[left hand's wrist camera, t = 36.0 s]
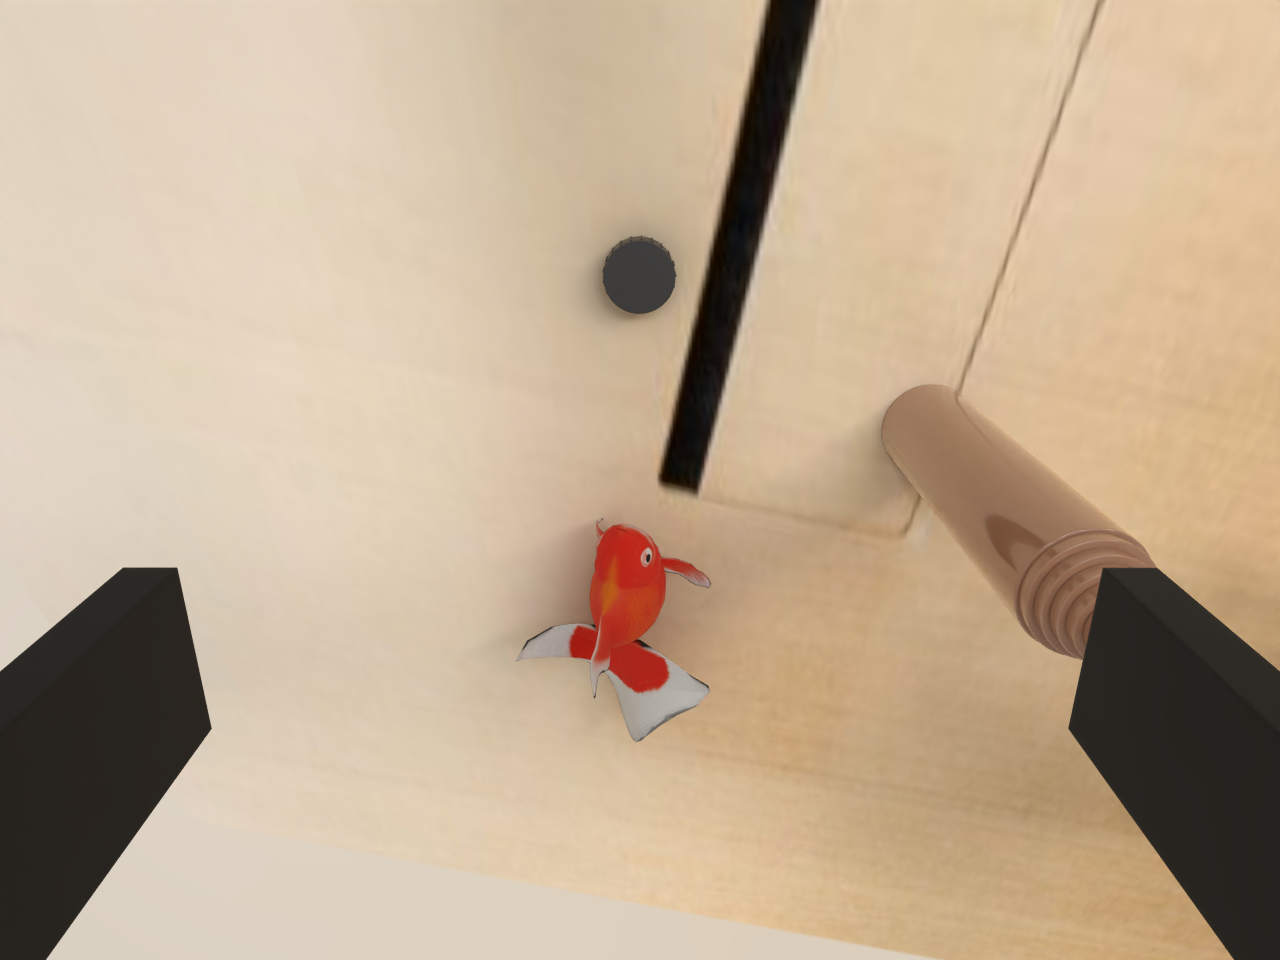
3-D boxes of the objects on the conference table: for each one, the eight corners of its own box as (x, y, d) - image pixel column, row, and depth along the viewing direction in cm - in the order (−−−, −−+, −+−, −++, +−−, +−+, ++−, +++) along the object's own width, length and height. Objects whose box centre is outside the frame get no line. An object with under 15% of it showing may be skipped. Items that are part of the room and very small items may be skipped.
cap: (648, 220, 47) (648, 224, 45) (688, 280, 48) (690, 287, 46) (589, 263, 48) (587, 268, 46) (631, 321, 49) (630, 328, 47)
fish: (793, 549, 49) (723, 683, 42) (707, 688, 60) (640, 811, 53) (624, 454, 50) (530, 568, 43) (571, 606, 61) (490, 716, 54)
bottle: (967, 375, 50) (1245, 583, 27) (975, 459, 52) (1242, 720, 29) (875, 395, 50) (1073, 616, 27) (887, 477, 52) (1080, 749, 29)
